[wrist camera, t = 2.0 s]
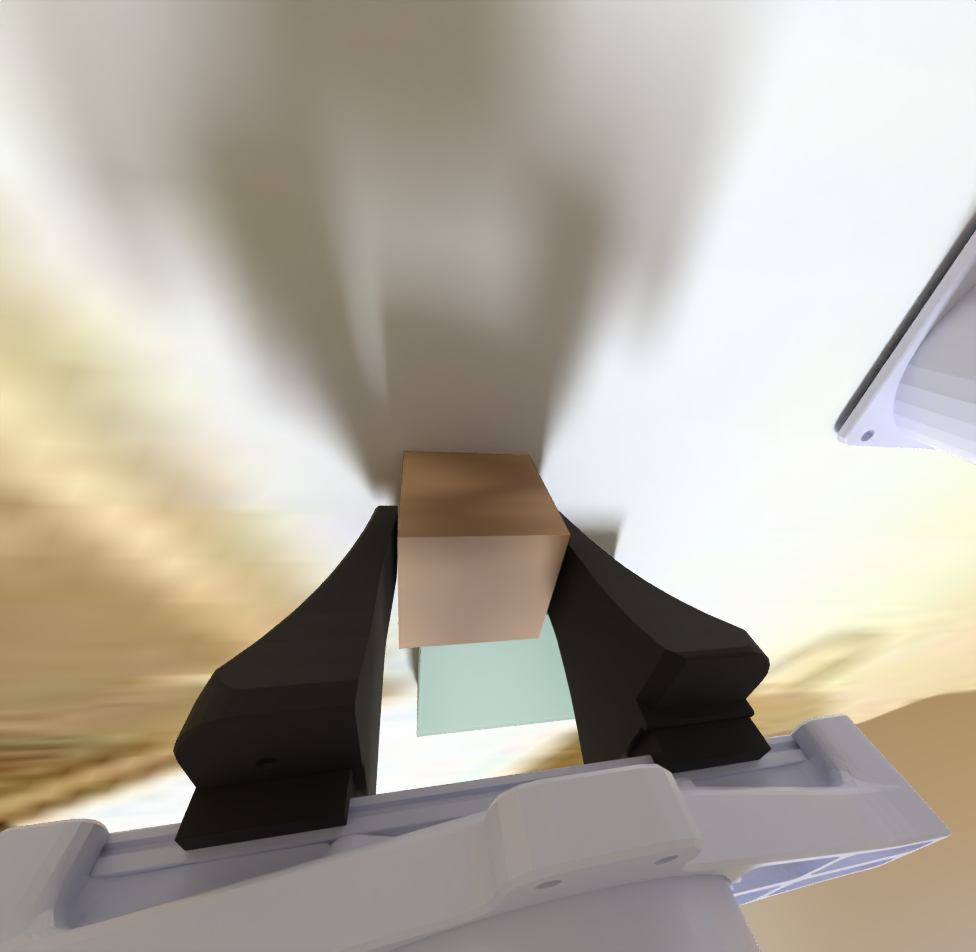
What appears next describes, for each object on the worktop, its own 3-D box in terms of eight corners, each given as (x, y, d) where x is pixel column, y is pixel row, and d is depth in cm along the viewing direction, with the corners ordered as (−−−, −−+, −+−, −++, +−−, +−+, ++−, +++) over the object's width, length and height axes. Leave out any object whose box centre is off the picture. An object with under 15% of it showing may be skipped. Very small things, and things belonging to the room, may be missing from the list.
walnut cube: (528, 453, 13) (570, 534, 10) (510, 545, 16) (538, 638, 12) (404, 450, 13) (397, 537, 9) (404, 547, 15) (399, 648, 11)
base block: (609, 558, 18) (640, 609, 15) (566, 664, 22) (584, 717, 20) (422, 562, 16) (422, 621, 13) (417, 677, 21) (416, 736, 18)
